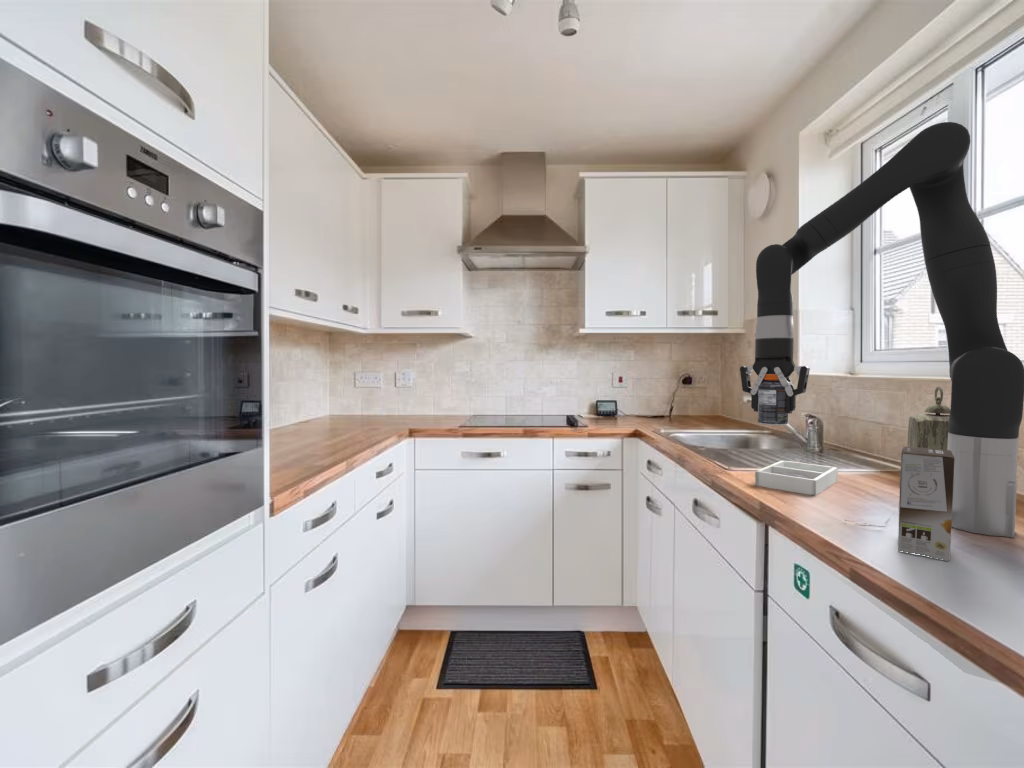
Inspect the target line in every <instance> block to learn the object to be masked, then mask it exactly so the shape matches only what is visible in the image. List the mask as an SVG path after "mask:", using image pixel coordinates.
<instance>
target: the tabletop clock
mask: <svg viewBox="0 0 1024 768" xmlns="http://www.w3.org/2000/svg"><path fill="white" fill-rule="evenodd" d="M938 392H939V393H940V396H939V397H938ZM943 398H944V390H943V388H942V386H936V387H935V389H934V401H935V403H934V404H930V405H928V406H927V407H926V409H925V410H924V413H918V414H915V415H913V416H909V418H908V427H907V428H908V430H907V447H915V448H931V449H942V450H947V449H948V448H947V447H948V423H949V416H950V409H951V408H950V407H948V406H947V405H945V404H942V402H943Z"/></svg>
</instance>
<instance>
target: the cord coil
mask: <svg viewBox="0 0 1024 768" xmlns="http://www.w3.org/2000/svg"><path fill="white" fill-rule="evenodd" d="M780 474H781V475H787V476H794V477H800V478H806V477H804V476H801V475H797V474H788V473H780Z"/></svg>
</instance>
